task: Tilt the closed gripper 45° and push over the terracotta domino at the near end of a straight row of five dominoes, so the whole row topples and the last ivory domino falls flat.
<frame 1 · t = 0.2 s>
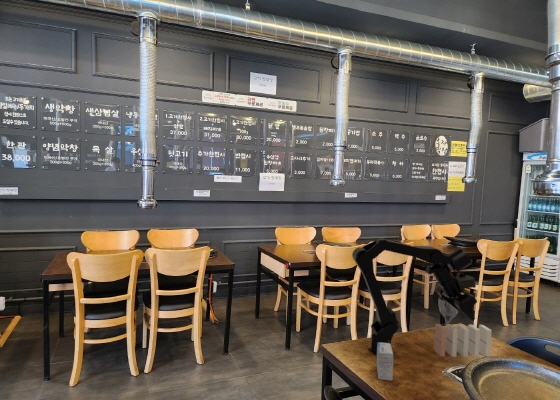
hand: (466, 315, 128), 15 cm above the table, tool tilted 35°, fingers open, 9 cm apart
domino 3: (461, 353, 131), on the table
domino 4: (472, 353, 131), on the table
wine glass: (447, 335, 148), on the table
medicine box: (383, 374, 114), on the table
domino 5: (483, 354, 131), on the table
domino 2: (450, 353, 130), on the table
domino 1: (439, 353, 130), on the table
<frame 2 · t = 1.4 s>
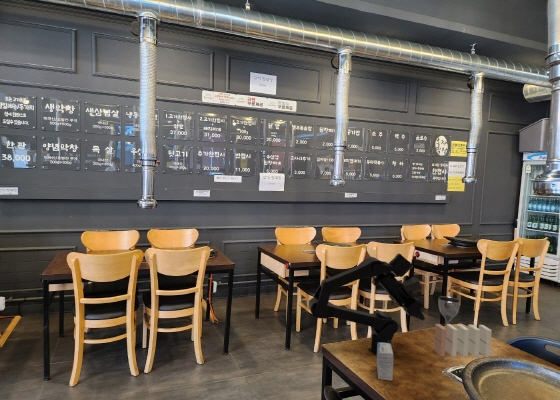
hand: (419, 316, 129), 14 cm above the table, tool tilted 45°, fingers open, 6 cm apart
nothing on the table moved.
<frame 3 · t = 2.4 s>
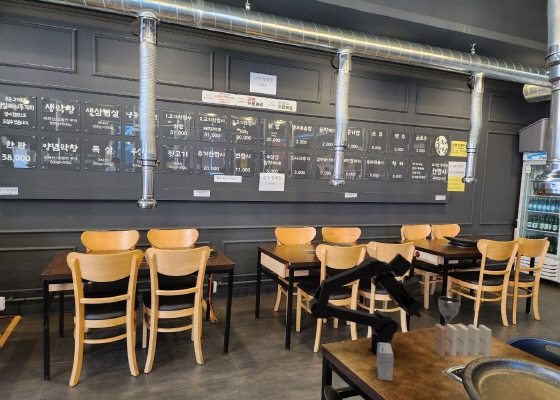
hand: (419, 316, 129), 14 cm above the table, tool tilted 45°, fingers closed
nothing on the table moved.
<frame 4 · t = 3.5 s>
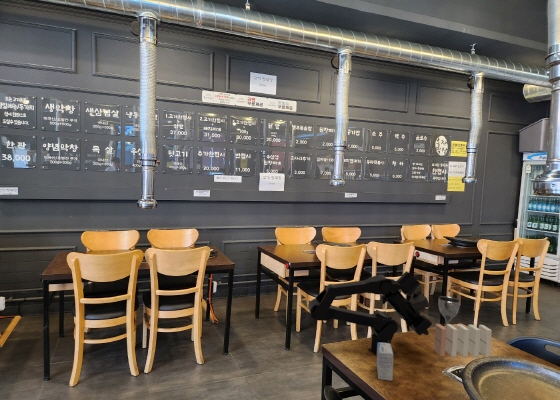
hand: (427, 334, 130), 7 cm above the table, tool tilted 45°, fingers closed
nothing on the table moved.
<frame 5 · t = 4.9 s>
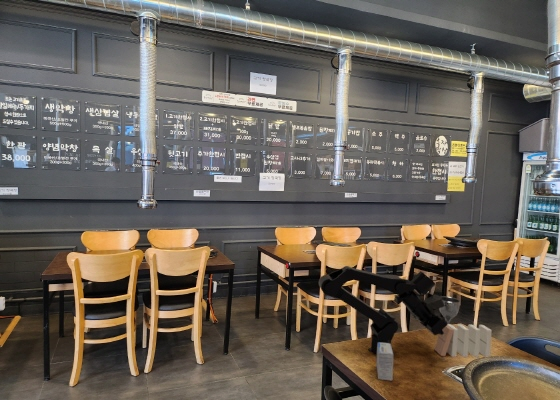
hand: (442, 333, 130), 7 cm above the table, tool tilted 45°, fingers closed
domino 1: (439, 352, 130), on the table, tilted 16°
everything else where it was.
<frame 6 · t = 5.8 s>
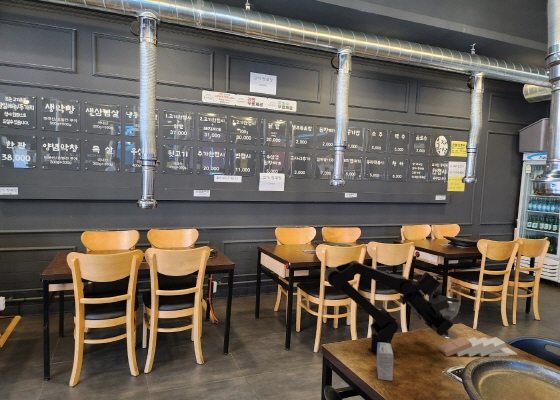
hand: (447, 334, 130), 7 cm above the table, tool tilted 45°, fingers closed
domino 3: (465, 351, 131), point 1 cm above the table, tilted 67°, touching domino 2, domino 4
domino 4: (476, 351, 131), point 1 cm above the table, tilted 67°, touching domino 3, domino 5
domino 5: (486, 352, 131), point 1 cm above the table, tilted 90°, touching domino 4
domino 2: (454, 351, 130), point 1 cm above the table, tilted 67°, touching domino 1, domino 3
domino 1: (442, 351, 130), point 1 cm above the table, tilted 68°, touching domino 2
everything else where it was.
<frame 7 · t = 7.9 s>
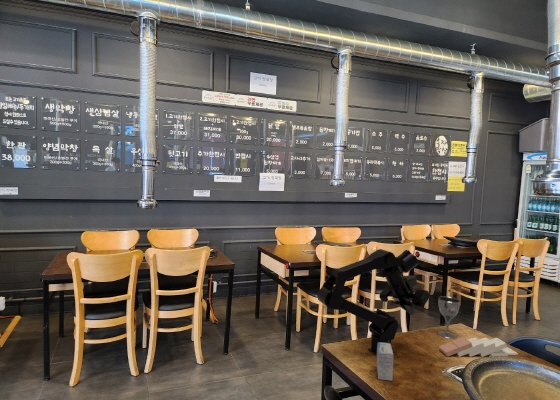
hand: (412, 313, 133), 13 cm above the table, tool tilted 35°, fingers closed
domino 4: (477, 351, 131), point 1 cm above the table, tilted 68°, touching domino 3, domino 5
domino 2: (454, 351, 130), point 1 cm above the table, tilted 68°, touching domino 3
domino 1: (443, 351, 130), point 1 cm above the table, tilted 68°
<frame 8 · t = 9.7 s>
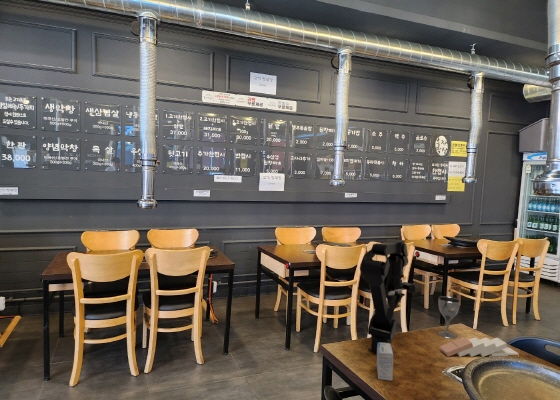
hand: (392, 310, 139), 12 cm above the table, tool pointing down, fingers closed
domino 2: (455, 351, 130), point 1 cm above the table, tilted 68°, touching domino 1, domino 3
domino 1: (443, 351, 130), point 1 cm above the table, tilted 68°, touching domino 2
everything else where it was.
at the end: domino 5 tilted 90°; domino 3 tilted 68°; domino 1 tilted 68° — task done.
